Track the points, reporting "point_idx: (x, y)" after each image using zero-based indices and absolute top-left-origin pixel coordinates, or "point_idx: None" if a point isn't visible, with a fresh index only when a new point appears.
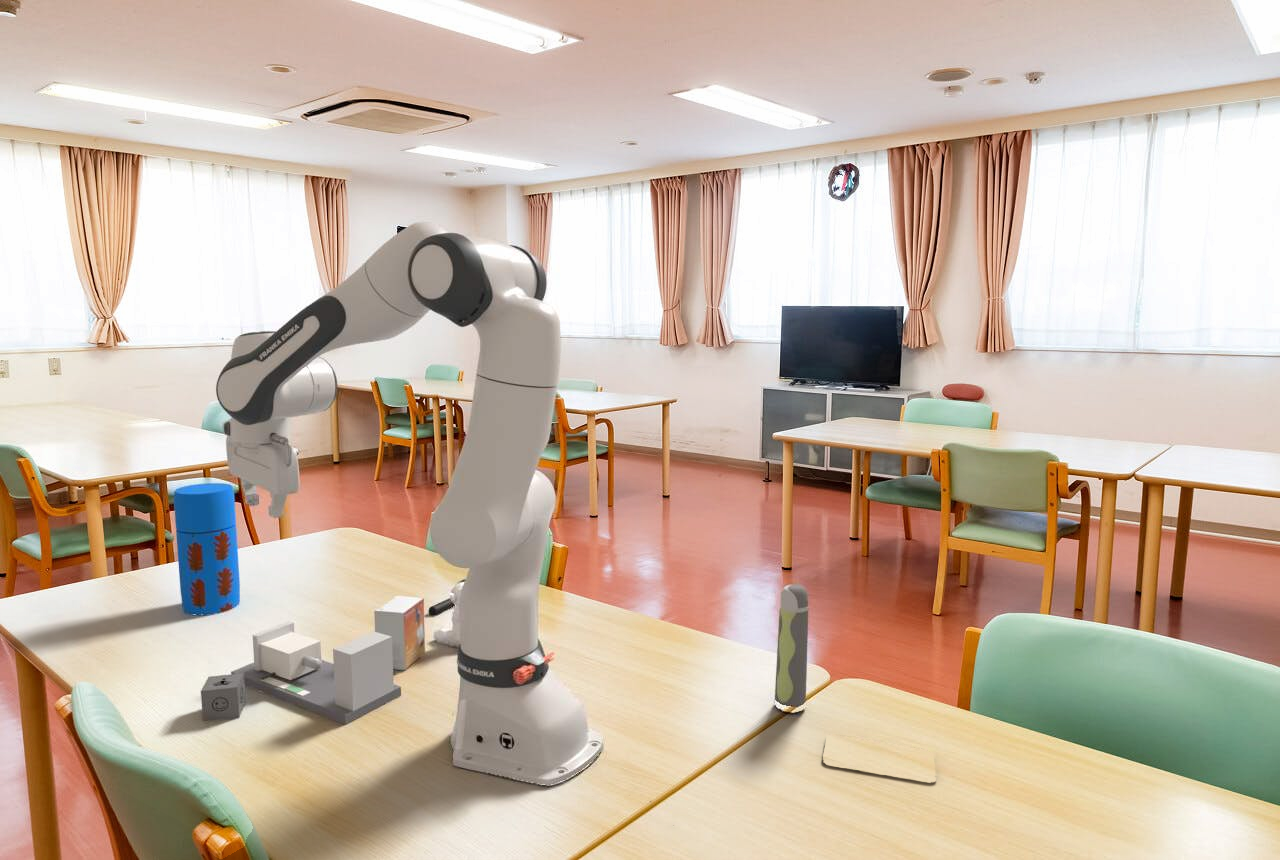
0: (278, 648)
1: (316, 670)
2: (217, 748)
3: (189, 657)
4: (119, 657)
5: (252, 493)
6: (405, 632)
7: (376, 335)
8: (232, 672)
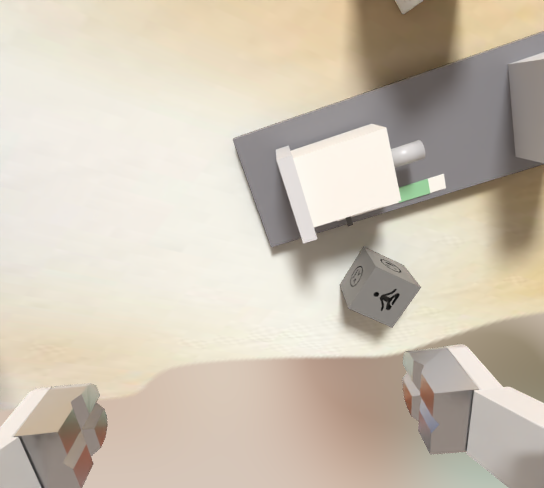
0: (360, 207)
1: None
2: (463, 305)
3: (137, 268)
4: (81, 341)
5: (23, 471)
6: None
7: None
8: (274, 245)
